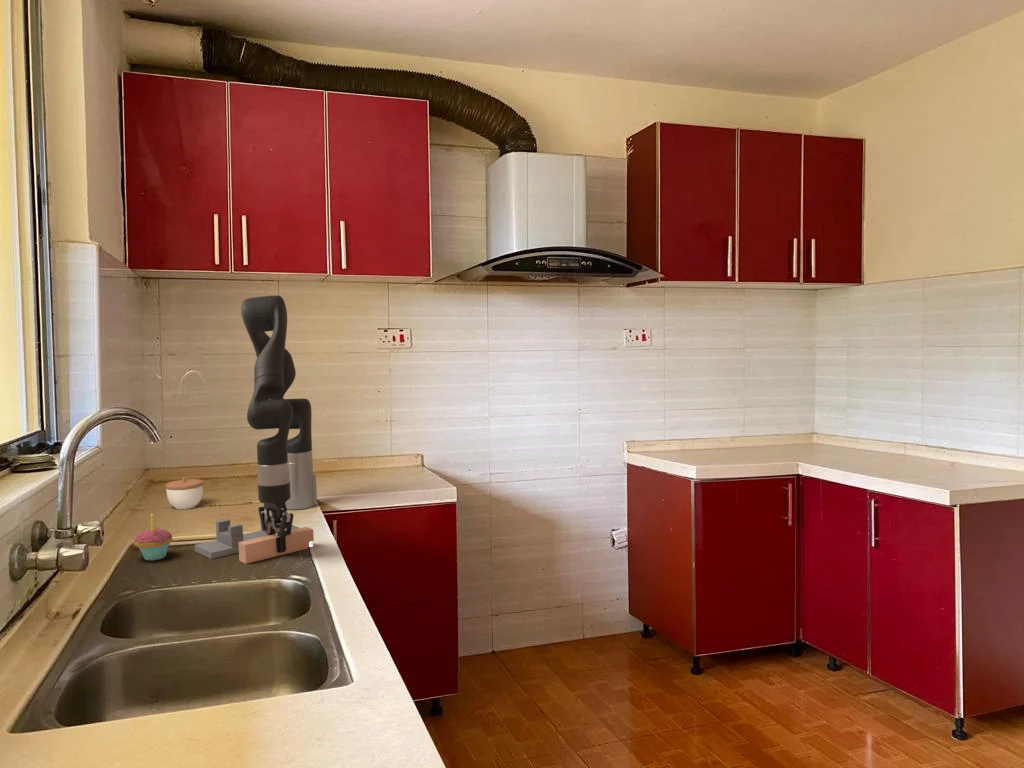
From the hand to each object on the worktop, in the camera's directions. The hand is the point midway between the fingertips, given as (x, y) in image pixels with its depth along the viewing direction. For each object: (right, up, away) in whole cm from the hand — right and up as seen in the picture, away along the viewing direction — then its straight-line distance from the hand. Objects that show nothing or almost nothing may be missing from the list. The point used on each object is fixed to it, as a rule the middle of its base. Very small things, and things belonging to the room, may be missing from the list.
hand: (277, 550), depth 191 cm
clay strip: (0, -1, 0) cm, 1 cm away
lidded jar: (-44, +2, +51) cm, 67 cm away
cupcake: (-30, -2, -1) cm, 30 cm away
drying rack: (-9, 0, +9) cm, 13 cm away
